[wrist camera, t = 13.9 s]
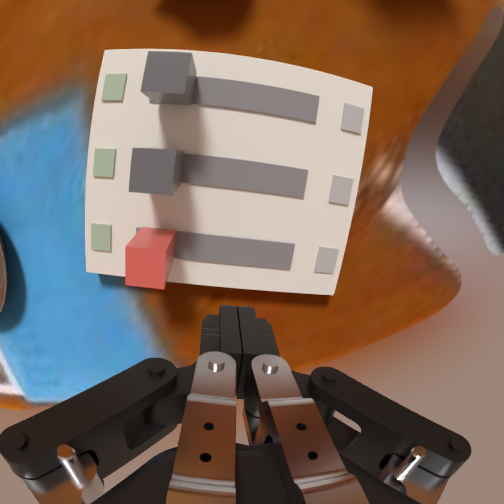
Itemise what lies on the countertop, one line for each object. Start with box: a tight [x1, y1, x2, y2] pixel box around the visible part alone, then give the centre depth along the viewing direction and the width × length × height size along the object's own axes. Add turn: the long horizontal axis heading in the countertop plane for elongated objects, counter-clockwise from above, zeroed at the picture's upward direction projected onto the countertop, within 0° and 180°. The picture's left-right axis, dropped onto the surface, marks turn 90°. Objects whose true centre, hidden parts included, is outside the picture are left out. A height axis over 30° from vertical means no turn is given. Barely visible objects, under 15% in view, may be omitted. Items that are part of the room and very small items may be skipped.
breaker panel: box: [85, 49, 373, 295], centre depth 19 cm, size 20×17×7 cm
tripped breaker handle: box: [125, 227, 176, 289], centre depth 19 cm, size 2×2×4 cm
